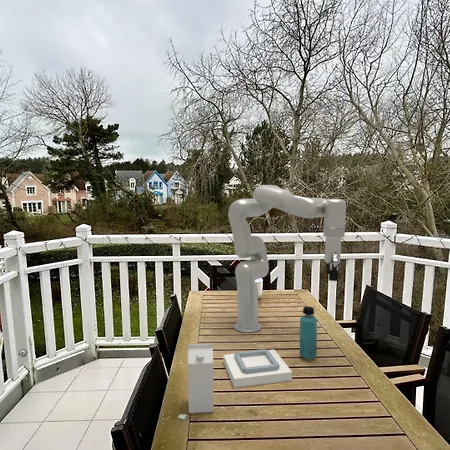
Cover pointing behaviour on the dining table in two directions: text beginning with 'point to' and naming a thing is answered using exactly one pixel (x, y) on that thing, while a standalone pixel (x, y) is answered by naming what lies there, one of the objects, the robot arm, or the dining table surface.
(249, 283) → the robot arm
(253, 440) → the dining table surface
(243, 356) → the display stand
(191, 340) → the dining table surface
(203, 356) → the milk carton
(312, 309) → the beverage bottle
